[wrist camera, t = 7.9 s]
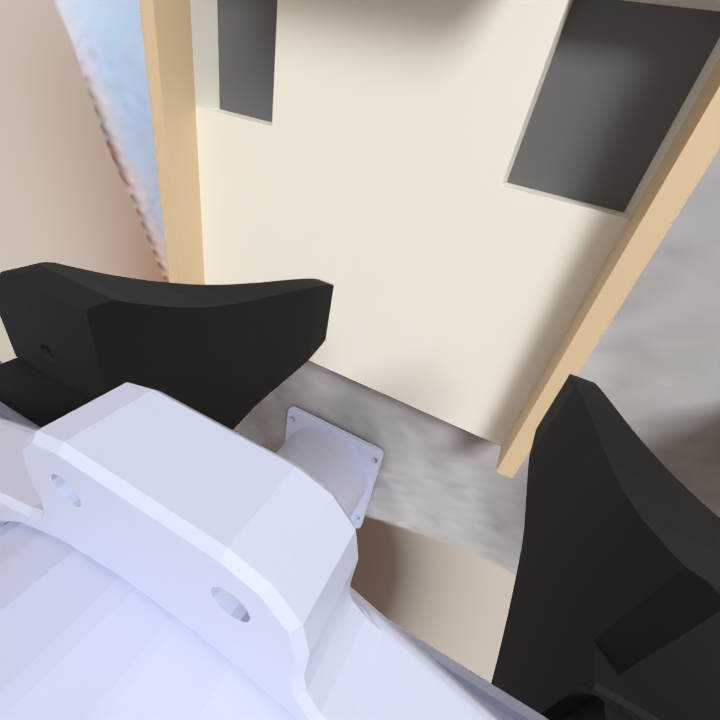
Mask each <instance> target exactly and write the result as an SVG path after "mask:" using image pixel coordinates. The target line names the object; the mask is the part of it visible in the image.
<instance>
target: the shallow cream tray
mask: <svg viewBox="0 0 720 720" xmlns="http://www.w3.org/2000/svg"><path fill="white" fill-rule="evenodd" d="M139 4H140V13H141V22H142V32H143V41H144V50H145V60H146V69H147V78H148V87H149V97H150V106H151V115H152V125H153V134H154V143H155V152H156V162H157V171H158V180H159V190H160V199H161V208H162V218H163V227H164V236H165V245H166V255H167V264H168V273H169V283H180V284H199V285H227V284H244V283H259V282H270V281H280V280H291V279H307V278H312V279H319V280H322V281H324V282H327V283H330V284H332V285H334V288H333V294H332V301H331V307H330V314H329V320H328V327H327V334H326V340H325V341H324V342H323V344H322V345H321V346H320V347H319V349H318V350H317V351H316V352H315V353H314V354H313V356H312V357H311V358H310V359H309V361H311V362H313V363H316V364H318V365H320V366H322V367H325V368H327V369H329V370H331V371H333V372H336V373H338V374H340V375H342V376H345V377H347V378H349V379H351V380H354V381H356V382H358V383H360V384H363V385H365V386H367V387H369V388H372V389H374V390H376V391H378V392H381V393H383V394H385V395H387V396H390V397H392V398H394V399H396V400H398V401H401V402H403V403H405V404H407V405H410V406H412V407H414V408H416V409H419V410H421V411H423V412H425V413H428V414H430V415H432V416H434V417H437V418H439V419H441V420H443V421H446V422H448V423H450V424H452V425H454V426H457V427H459V428H461V429H463V430H466V431H468V432H470V433H472V434H475V435H477V436H479V437H481V438H484V439H486V440H488V441H490V442H493V443H495V444H497V445H499V446H501V451H500V455H499V460H498V464H497V469H496V472H498V473H500V474H502V475H504V476H506V477H509V478H511V479H512V478H513V477H514V475H515V473H516V472H517V470H518V469H519V467H520V465H521V464H522V462H523V461H524V459H525V457H526V456H527V454H528V453H529V451H530V450H531V448H532V444H533V440H534V435H535V431H536V428H537V427H538V425H539V424H540V422H541V420H542V419H543V417H544V415H545V414H546V412H547V410H548V409H549V407H550V406H551V404H552V402H553V401H554V399H555V397H556V396H557V394H558V392H559V391H560V389H561V388H562V386H563V384H564V383H565V381H566V379H567V378H568V376H569V375H570V374H572V375H575V376H577V375H578V373H579V371H580V370H581V368H582V367H583V365H584V363H585V362H586V360H587V359H588V357H589V355H590V354H591V352H592V351H593V349H594V347H595V346H596V344H597V343H598V341H599V339H600V338H601V336H602V335H603V333H604V332H605V330H606V328H607V327H608V325H609V324H610V322H611V320H612V319H613V317H614V316H615V314H616V312H617V311H618V309H619V308H620V306H621V304H622V303H623V301H624V300H625V298H626V296H627V295H628V293H629V292H630V290H631V288H632V287H633V285H634V284H635V282H636V281H637V279H638V277H639V276H640V274H641V273H642V271H643V269H644V268H645V266H646V265H647V263H648V261H649V260H650V258H651V257H652V255H653V253H654V252H655V250H656V249H657V247H658V245H659V244H660V242H661V241H662V239H663V237H664V236H665V234H666V233H667V231H668V229H669V228H670V226H671V225H672V223H673V222H674V220H675V218H676V217H677V215H678V214H679V212H680V210H681V209H682V207H683V206H684V204H685V202H686V201H687V199H688V198H689V196H690V194H691V193H692V191H693V190H694V188H695V186H696V185H697V183H698V182H699V180H700V178H701V177H702V175H703V174H704V172H705V170H706V169H707V167H708V166H709V164H710V163H711V161H712V159H713V158H714V156H715V155H716V153H717V151H718V150H719V148H720V0H139Z"/></svg>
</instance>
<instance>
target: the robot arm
mask: <svg viewBox="0 0 720 720" xmlns="http://www.w3.org/2000/svg"><path fill="white" fill-rule="evenodd" d="M333 288H334V285H332V284H330V283H327V282H324V281H322V280H319V279H312V278H307V279H291V280H280V281H270V282H259V283H244V284H227V285H199V284H180V283H168V282H155V281H147V280H139V279H132V278H126V277H120V276H114V275H108V274H103V273H98V272H93V271H88V270H84V269H80V268H75V267H70V266H66V265H61V264H58V263H49V262H43V263H38V264H33V265H29V266H25V267H20V268H17V269H12V270H7V271H3V272H1V273H0V316H1V319H2V321H3V324H4V327H5V329H6V331H7V334H8V336H9V339H10V342H11V344H12V347H13V349H14V352H15V354H16V356H17V357H18V358H15V359H13V360H10V361H8V362H5V363H2V362H1V361H0V720H720V518H719V517H718V516H716V515H715V514H714V513H713V512H712V511H711V510H709V509H708V508H707V507H706V506H705V505H704V504H703V503H702V502H700V501H699V500H698V499H697V498H696V497H695V496H694V495H693V494H692V493H691V492H690V491H689V490H688V489H687V488H686V487H685V486H684V485H683V484H682V483H680V482H679V481H678V480H677V479H676V478H675V477H674V476H673V475H672V474H671V473H670V472H669V471H668V470H667V469H666V468H665V466H664V465H663V464H662V463H661V462H660V461H659V460H658V459H657V458H656V457H655V455H654V454H653V453H652V452H651V451H650V450H649V449H648V448H647V447H646V445H645V444H644V443H643V442H642V441H641V440H640V438H639V437H638V436H637V435H636V434H635V432H634V431H633V430H632V429H631V427H630V426H629V425H628V424H627V422H626V421H625V420H624V419H623V417H622V416H621V415H620V413H619V412H618V411H617V410H616V408H615V407H614V406H613V404H612V403H611V402H610V400H609V399H608V398H607V397H606V395H605V394H604V393H603V392H602V391H601V389H600V388H599V387H598V386H597V385H596V384H595V383H593V382H591V381H588V380H585V379H583V378H580V377H577V376H575V375H572V374H570V375H569V376H568V378H567V379H566V381H565V383H564V384H563V386H562V388H561V389H560V391H559V392H558V394H557V396H556V397H555V399H554V401H553V402H552V404H551V406H550V407H549V409H548V410H547V412H546V414H545V415H544V417H543V419H542V420H541V422H540V424H539V425H538V427H537V428H536V431H535V435H534V440H533V444H532V448H531V452H530V457H529V467H528V481H527V496H526V511H525V527H524V536H523V544H522V549H521V554H520V559H519V565H518V570H517V575H516V580H515V585H514V589H513V595H512V599H511V603H510V608H509V613H508V617H507V621H506V626H505V630H504V635H503V638H502V643H501V647H500V651H499V655H498V660H497V664H496V667H495V671H494V675H493V679H492V683H489V682H488V681H486V680H485V679H483V678H481V677H480V676H478V675H476V674H475V673H473V672H472V671H470V670H468V669H467V668H465V667H464V666H462V665H460V664H459V663H457V662H456V661H454V660H452V659H451V658H449V657H448V656H446V655H444V654H443V653H441V652H439V651H438V650H436V649H435V648H433V647H431V646H430V645H428V644H427V643H425V642H423V641H422V640H420V639H418V638H417V637H415V636H413V635H412V634H410V633H409V632H407V631H406V630H404V629H402V628H401V627H399V626H398V625H396V624H394V623H393V622H391V621H390V620H388V619H387V618H385V617H384V616H383V615H382V614H381V613H380V612H379V611H377V610H376V609H375V608H374V607H373V606H372V605H371V604H369V603H368V602H367V601H366V600H365V599H364V598H362V597H361V596H360V595H359V594H358V593H357V592H356V591H355V590H353V589H352V588H351V587H350V582H351V579H352V576H353V573H354V570H355V567H356V564H357V561H358V551H357V539H356V530H355V528H360V527H361V525H362V523H363V520H364V516H365V513H366V510H367V507H368V504H369V501H370V497H371V494H372V491H373V488H374V485H375V482H376V479H377V475H378V472H379V469H380V466H381V463H382V460H383V456H384V452H383V451H382V449H380V448H379V447H377V446H375V445H373V444H371V443H369V442H367V441H365V440H363V439H360V438H358V437H356V436H354V435H352V434H350V433H348V432H346V431H344V430H342V429H340V428H338V427H336V426H334V425H332V424H330V423H328V422H326V421H324V420H322V419H320V418H318V417H316V416H314V415H312V414H309V413H307V412H305V411H303V410H301V409H299V408H297V407H295V406H292V407H290V408H289V409H288V413H287V423H286V433H285V443H284V444H283V445H282V446H281V447H280V449H279V450H278V451H277V452H276V453H274V452H272V451H270V450H268V449H266V448H265V447H263V446H261V445H259V444H257V443H255V442H253V441H252V440H250V439H248V438H246V437H244V436H242V435H240V434H239V433H237V432H235V431H233V429H234V428H235V427H236V426H237V425H238V424H239V423H240V422H241V420H242V419H243V418H244V417H245V416H246V415H247V414H248V413H249V412H250V411H251V410H252V409H253V408H254V407H255V406H256V405H257V404H258V403H259V402H260V401H261V400H262V399H263V398H264V397H266V396H267V395H268V394H269V393H270V392H272V391H273V390H274V389H275V388H276V387H277V386H279V385H280V384H281V383H282V382H283V381H285V380H286V379H287V378H288V377H289V376H291V375H292V374H293V373H294V372H295V371H296V370H298V369H299V368H300V367H301V366H302V365H303V364H305V363H306V362H307V361H308V360H309V359H310V358H311V357H312V356H313V354H314V353H315V352H316V351H317V350H318V349H319V347H320V346H321V345H322V344H323V342H324V341H325V340H326V334H327V327H328V320H329V314H330V307H331V301H332V294H333ZM293 417H294V418H293ZM375 458H376V459H375Z"/></svg>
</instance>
